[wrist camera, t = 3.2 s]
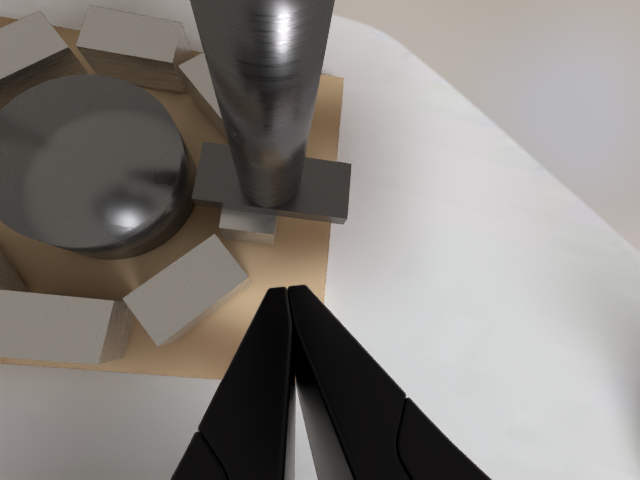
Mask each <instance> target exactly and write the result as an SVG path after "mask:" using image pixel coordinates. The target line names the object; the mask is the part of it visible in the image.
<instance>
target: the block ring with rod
mask: <svg viewBox="0 0 640 480" xmlns="http://www.w3.org/2000/svg"><path fill="white" fill-rule="evenodd" d="M334 1H335V0H190V2H191V6H192V9H193V13H194V17H195V20H196V24H197V28H198V32H199V35H200V39H201V43H202V47H203V50H204V52H203V53H201V54H199V55H197V56H196V57H194V58H193V56H192V53H191V49H190V46H189V43H188V40H187V37H186V34H185V30H184V27H183V24H182V23H180V22H175V21H170V20H164V19H159V18H154V17H148V16H143V15H137V14H132V13H127V12H121V11H116V10H111V9H105V8H100V7H95V6H89V8H88V11H87V14H86V17H85V20H84V23H83V26H82V29H81V32H80V35H79V38H78V41H77V44H76V47H77V48H78V50H79V51H80V53H81V54H82V55H83V57H84V58H85V59H86V61H87V62H88V63H89V65H90V66H91V67H92V69H93V70H94V72H95V73H96V74H97V75H103V76H110V77H114V78H119V79H122V80H125V81H127V82H130V83H132V84H134V85H139V86H145V87H151V88H157V89H163V90H170V91H176V92H182V93H185V89H186V88H187V91H188V93H189V96H190V97H191V98H192V99H193V101H194V102H195V103H196V104H197V106H198V107H199V108H200V109H201V110H202V112H203V113H204V114H205V115H206V117H207V118H208V119H209V120H210V121H211V123H212V124H213V125H214V126H215V128H216V129H217V130H218V131H219V132H220V134H221V135H222V136H223V137H224V139H225V140H226V141H227V142H228V143H229V146H228V145H222V144H215V143H208V142H203V145H202V150H201V155H200V160H199V165H198V170H197V174H196V179H195V184H194V189H193V194H192V200H193V201H194V202H195V204H196V205H197V206H205V207H212V208H220V209H222V212H221V217H220V223H219V229H220V231H221V232H222V234H223V235H224V237H225V239H227V240H235V241H244V242H252V243H260V244H269V245H274V243H275V235H276V227H277V220H278V216H282V217H289V218H297V219H305V220H313V221H320V222H328V223H336V224H344V223H345V221H346V220H347V214H348V201H349V188H350V175H351V164H348V163H342V162H335V161H328V160H322V159H315V158H308V157H305V156H306V151H307V146H308V140H309V135H310V130H311V124H312V119H313V114H314V108H315V103H316V98H317V92H318V87H319V81H320V76H321V71H322V65H323V60H324V55H325V49H326V44H327V39H328V33H329V28H330V23H331V17H332V11H333V7H334ZM81 74H89V73H88V72H87V71H86V69H85V68H84V67H83V65H82V64H81V63H80V61H79V60H78V59H77V57H76V56H75V55H74V54H73V52H72V51H71V50H70V48H69V47H68V46H67V44H66V43H65V42H64V41H63V39H62V38H61V37H60V36H59V34H58V33H57V32H56V30H55V29H54V28H53V27H52V25H51V24H50V23H49V21H48V20H47V19H46V18H45V16H44V15H43V14H42V13H41V11H39V12H37V13H34V14H32V15H30V16H27V17H25V18H23V19H20V20H18V21H16V22H13V23H11V24H9V25H6V26H4V27H2V28H0V110H1V109H2V108H3V107H4V106H5V105H6V104H8V103H9V102H10V101H11V100H12V99H14V98H15V97H17V96H18V95H19V94H21V93H23V92H24V91H26V90H28V89H30V88H31V87H34V86H36V85H38V84H41V83H43V82H46V81H49V80H52V79H55V78H60V77H65V76H70V75H81ZM251 283H252V281H251V280H250V278H249V277H248V275H247V274H246V273H245V272H244V270H243V269H242V268H241V267H240V265H239V264H238V263H237V261H236V260H235V259H234V258H233V256H232V255H231V254H230V253H229V251H228V250H227V249H226V247H225V246H224V245H223V244H222V242H221V241H220V240H219V238H218V237H217V236H216V235H215V234H214V235H212V236H211V237H209V238H208V239H206V240H205V241H204V242H202V243H201V244H199V245H198V246H196V247H195V248H194V249H192V250H191V251H189V252H188V253H186V254H185V255H184V256H182V257H181V258H179V259H178V260H177V261H175V262H174V263H172V264H171V265H169V266H168V267H167V268H165V269H164V270H162V271H161V272H159V273H158V274H157V275H155V276H154V277H152V278H151V279H149V280H148V281H147V282H145V283H144V284H142V285H141V286H139V287H138V288H137V289H135V290H134V291H132V292H131V293H129V294H128V295H127V296H125V297H124V298H122V299H123V300H124V301H125V302H122V301H112V300H102V299H91V298H81V297H71V296H60V295H50V294H40V293H29V292H26V291H28V289H27V287H26V286H25V284H24V283H23V281H22V280H21V278H20V277H19V276H18V274H17V273H16V271H15V270H14V268H13V267H12V266H11V264H10V263H9V261H8V260H7V258H6V257H5V255H4V254H3V253H2V251H1V250H0V357H4V358H17V359H30V360H43V361H56V362H69V363H82V364H95V365H99V364H103V363H107V362H111V361H114V360H118V359H122V358H124V357H125V352H126V348H127V344H128V339H129V335H130V330H131V326H132V322H133V317H134V315H135V316H136V318H137V319H138V320H139V322H140V323H141V325H142V326H143V327H144V329H145V330H146V331H147V333H148V334H149V336H150V337H151V338H152V340H153V341H154V342H155V344H156V345H157V347H158V346H162V345H166V344H170V343H174V342H176V341H177V340H178V339H180V338H181V337H182V336H183V335H185V334H186V333H187V332H189V331H190V330H191V329H192V328H194V327H195V326H196V325H198V324H199V323H200V322H202V321H203V320H204V319H205V318H207V317H208V316H209V315H211V314H212V313H213V312H214V311H216V310H217V309H218V308H220V307H221V306H222V305H224V304H225V303H226V302H227V301H229V300H230V299H231V298H233V297H234V296H235V295H237V294H238V293H239V292H240V291H242V290H243V289H244V288H246V287H247V286H248V285H249V284H251Z"/></svg>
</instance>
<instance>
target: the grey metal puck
mask: <svg viewBox="0 0 640 480" xmlns="http://www.w3.org/2000/svg"><path fill="white" fill-rule="evenodd" d="M196 174H197V168H196V165H195V162H194V160H193V158H192V156H191V154H190V152H189V150H188V148H187V146H186V144H185V142H184V140H183V138H182V136H181V134H180V132H179V130H178V129H177V127H176V125H175V123H174V121H173V119H172V117H171V115H170V114H169V113H168V111H167V110H166V108H165V107H164V106H163V105H162V104H161V103H160V102H159V101H158V100H157V99H156V98H155V97H154V96H152V95H151V94H150V93H148V92H147V91H145V90H144V89H142V88H141V87H139V86H137V85H134V84H132V83H130V82H127V81H125V80H122V79H119V78H114V77H110V76H103V75H94V74H81V75H70V76H65V77H60V78H55V79H52V80H49V81H46V82H43V83H41V84H38V85H36V86H34V87H31V88H30V89H28V90H26V91H24V92H23V93H21V94H19V95H18V96H17V97H15V98H14V99H12V100H11V101H10V102H9V103H8V104H6V105H5V106H4V107H3V108H2V109H1V110H0V221H1V222H3V223H4V224H5V225H6V226H8V227H9V228H11V229H12V230H14V231H15V232H17V233H19V234H21V235H23V236H26V237H28V238H30V239H33V240H36V241H39V242H43V243H46V244H49V245H52V246H55V247H58V248H61V249H64V250H67V251H70V252H73V253H76V254H80V255H83V256H86V257H89V258H95V259H101V260H119V259H127V258H132V257H136V256H139V255H142V254H145V253H148V252H150V251H152V250H154V249H156V248H158V247H159V246H161V245H163V244H164V243H166V242H167V241H168V240H170V239H171V238H172V237H173V236H174V235H175V234H176V233H177V232H178V231H179V230H180V229H181V228H182V227H183V225H184V224H185V223H186V222H187V220H188V218H189V217H190V215H191V213H192V211H193V208H194V206H195V202H194V201H193V200H192V194H193V189H194V184H195V179H196Z"/></svg>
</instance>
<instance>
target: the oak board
mask: <svg viewBox="0 0 640 480" xmlns="http://www.w3.org/2000/svg"><path fill="white" fill-rule="evenodd" d="M16 21H18V20H16V19H11V18H5V17H0V28H2V27H4V26H6V25H9V24H11V23H13V22H16ZM52 27H53V28H54V29H55V30H56V32H57V33H58V34H59V36H60V37H61V38H62V39H63V41H64V42H65V43H66V44H67V46H68V47H69V48H70V50H71V51H72V52H73V54H74V55H75V56H76V57H77V59H78V60H79V61H80V63H81V64H82V65H83V67H84V68H85V69H86V71H87V72H88V73H89V74H94V75H97V74H96V73H95V72H94V70H93V69H92V67H91V66H90V65H89V63H88V62H87V61H86V59H85V58H84V57H83V55H82V54H81V53H80V51H79V50H78V48H77V47H76V44H77V41H78V38H79V35H80V32H81V31H78V30H72V29H67V28H61V27H55V26H52ZM191 53H192V56H193V58H194V57H196V56H197V55H199V54H201V52H195V51H191ZM343 81H344V78H341V77H336V76H330V75H324V74H321V76H320V81H319V87H318V92H317V98H316V103H315V108H314V114H313V119H312V124H311V130H310V135H309V140H308V146H307V151H306V156H305V157H308V158H315V159H322V160H328V161H335V162H336V160H337V148H338V137H339V126H340V115H341V103H342V92H343ZM137 86H139V85H137ZM139 87H141V88H142V89H144V90H145V91H147V92H148V93H150V94H151V95H152V96H154V97H155V98H156V99H157V100H158V101H159V102H160V103H161V104H162V105H163V106H164V107H165V108H166V110H167V111H168V113H169V114H170V115H171V117H172V119H173V121H174V123H175V125H176V127H177V129H178V130H179V132H180V134H181V136H182V138H183V140H184V142H185V144H186V146H187V148H188V150H189V152H190V154H191V156H192V158H193V160H194V162H195V165H196V168H197V170H198V165H199V160H200V155H201V150H202V145H203V142H208V143H215V144H222V145H228V146H229V143H228V142H227V141H226V140H225V139H224V137H223V136H222V135H221V134H220V132H219V131H218V130H217V129H216V128H215V126H214V125H213V124H212V123H211V121H210V120H209V119H208V118H207V117H206V115H205V114H204V113H203V112H202V110H201V109H200V108H199V107H198V106H197V104H196V103H195V102H194V101H193V99H192V98H191V97H190V96H189V93H188V91H187V88H186V89H185V93H182V92H176V91H170V90H163V89H157V88H151V87H145V86H139ZM221 212H222V209H220V208H212V207H205V206H197V205H196V204H195V206H194V208H193V211H192V213H191V215H190V217H189V218H188V220H187V222H186V223H185V224H184V225H183V227H182V228H181V229H180V230H179V231H178V232H177V233H176V234H175V235H174V236H173V237H172V238H171V239H170V240H168V241H167V242H166V243H164V244H163V245H161V246H159V247H158V248H156V249H154V250H152V251H150V252H148V253H145V254H142V255H139V256H136V257H132V258H127V259H119V260H101V259H95V258H89V257H86V256H83V255H80V254H76V253H73V252H70V251H67V250H64V249H61V248H58V247H55V246H52V245H49V244H46V243H43V242H39V241H36V240H33V239H30V238H28V237H26V236H23V235H21V234H19V233H17V232H15V231H14V230H12V229H11V228H9V227H8V226H6V225H5V224H4V223H3V222H1V221H0V250H1V251H2V253H3V254H4V255H5V257H6V258H7V260H8V261H9V263H10V264H11V266H12V267H13V268H14V270H15V271H16V273H17V274H18V276H19V277H20V278H21V280H22V281H23V283H24V284H25V286H26V287H27V289H28V291H26V292H29V293H40V294H50V295H60V296H71V297H81V298H91V299H102V300H112V301H122V302H125V301H124V300H123V299H122V298H124V297H125V296H127V295H128V294H129V293H131V292H132V291H134V290H135V289H137V288H138V287H139V286H141V285H142V284H144V283H145V282H147V281H148V280H149V279H151V278H152V277H154V276H155V275H157V274H158V273H159V272H161V271H162V270H164V269H165V268H167V267H168V266H169V265H171V264H172V263H174V262H175V261H177V260H178V259H179V258H181V257H182V256H184V255H185V254H186V253H188V252H189V251H191V250H192V249H194V248H195V247H196V246H198V245H199V244H201V243H202V242H204V241H205V240H206V239H208V238H209V237H211V236H212V235H214V234H215V235H216V236H217V237H218V238H219V240H220V241H221V242H222V244H223V245H224V246H225V247H226V249H227V250H228V251H229V253H230V254H231V255H232V256H233V258H234V259H235V260H236V261H237V263H238V264H239V265H240V267H241V268H242V269H243V270H244V272H245V273H246V274H247V275H248V277H249V278H250V280H251V281H252V283H251V284H249V285H248V286H247V287H246V288H244V289H243V290H242V291H240V292H239V293H238V294H237V295H235V296H234V297H233V298H231V299H230V300H229V301H227V302H226V303H225V304H224V305H222V306H221V307H220V308H218V309H217V310H216V311H214V312H213V313H212V314H211V315H209V316H208V317H207V318H205V319H204V320H203V321H202V322H200V323H199V324H198V325H196V326H195V327H194V328H192V329H191V330H190V331H189V332H187V333H186V334H185V335H183V336H182V337H181V338H180V339H178V340H177V341H176V342H174V343H170V344H166V345H162V346H158V347H157V345H156V344H155V342H154V341H153V340H152V338H151V337H150V336H149V334H148V333H147V331H146V330H145V329H144V327H143V326H142V325H141V323H140V322H139V320H138V319H137V318H136V316H135V315H134V317H133V322H132V326H131V330H130V335H129V339H128V344H127V348H126V352H125V357H124V358H122V359H118V360H114V361H111V362H107V363H103V364H99V365H95V364H82V363H69V362H56V361H43V360H30V359H17V358H4V357H0V363H4V364H18V365H31V366H45V367H58V368H71V369H85V370H98V371H112V372H125V373H138V374H152V375H165V376H179V377H192V378H205V379H219V380H222V379H223V377H224V375H225V373H226V371H227V369H228V367H229V365H230V363H231V361H232V359H233V357H234V355H235V353H236V351H237V349H238V347H239V345H240V343H241V341H242V339H243V337H244V335H245V333H246V331H247V329H248V327H249V325H250V323H251V321H252V319H253V317H254V315H255V314H256V312H257V310H258V308H259V306H260V304H261V302H262V300H263V298H264V296H265V294H266V292H267V290H268V289H269V288H274V287H286V288H287V290H288V287H289V286H294V285H306V286H308V288H309V289H310V290H311V291H312V292H313V293H314V294H315V295H316V296H317V297H318V298H319V300H320V301H321V302H322V303H323V304H324V295H325V284H326V272H327V261H328V250H329V239H330V227H331V223H328V222H320V221H313V220H305V219H297V218H289V217H282V216H278V220H277V227H276V235H275V243H274V245H269V244H260V243H252V242H244V241H235V240H227V239H225V237H224V235H223V234H222V232H221V231H220V229H219V223H220V217H221ZM295 385H296V379H295Z"/></svg>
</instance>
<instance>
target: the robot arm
mask: <svg viewBox="0 0 640 480" xmlns="http://www.w3.org/2000/svg"><path fill="white" fill-rule="evenodd" d="M295 379H296V386H297V391H298V396H299V401H300V405H301V409H302V414H303V418H304V422H305V427H306V431H307V435H308V439H309V444H310V448H311V452H312V457H313V461H314V465H315V469H316V474H317V478H318V480H492V479H490V478H489V477H488V476H487V475H486V474H485V473H484V472H483V471H482V470H481V469H480V468H479V467H477V466H476V465H475V464H474V463H473V462H472V461H471V460H470V459H469V458H468V457H467V456H466V455H465V454H464V453H463V452H462V451H460V450H459V449H458V448H457V447H456V446H455V445H454V444H453V443H452V442H451V441H450V440H449V439H448V438H447V437H446V436H445V435H444V434H443V433H442V432H441V431H440V430H439V429H438V428H437V427H436V425H435V424H434V423H433V422H432V421H431V420H430V419H429V418H428V417H427V416H426V415H425V414H424V413H423V412H422V411H421V410H420V409H419V407H418V406H417V405H416V404H415V403H414V402H413V401H412V400H411V399H410V398H409V397H408V398H406V394H405V392H404V391H403V390H402V389H401V388H400V387H399V386H398V385H397V384H396V382H395V381H394V380H393V379H392V378H391V377H390V376H389V375H388V374H387V373H386V372H385V370H384V369H383V368H382V367H381V366H380V365H379V364H378V363H377V362H376V361H375V360H374V358H373V357H372V356H371V355H370V354H369V353H368V352H367V351H366V350H365V349H364V348H363V346H362V345H361V344H360V343H359V342H358V341H357V340H356V339H355V338H354V337H353V336H352V334H351V333H350V332H349V331H348V330H347V329H346V328H345V327H344V326H343V325H342V324H341V322H340V321H339V320H338V319H337V318H336V317H335V316H334V315H333V314H332V313H331V312H330V310H329V309H328V308H327V307H326V306H325V305H324V304H323V303H322V302H321V301H320V300H319V298H318V297H317V296H316V295H315V294H314V293H313V292H312V291H311V290H310V289H309V288H308V286H306V285H294V286H289V287H288V290H287V288H286V287H274V288H269V289H268V290H267V292H266V294H265V296H264V298H263V300H262V302H261V304H260V306H259V308H258V310H257V312H256V314H255V315H254V317H253V319H252V321H251V323H250V325H249V327H248V329H247V331H246V333H245V335H244V337H243V339H242V341H241V343H240V345H239V347H238V349H237V351H236V353H235V355H234V357H233V359H232V361H231V363H230V365H229V367H228V369H227V371H226V373H225V375H224V377H223V379H222V381H221V383H220V385H219V387H218V389H217V391H216V393H215V395H214V397H213V399H212V401H211V403H210V405H209V406H208V408H207V410H206V412H205V414H204V416H203V418H202V420H201V422H200V424H199V426H198V431H199V432H196V433H195V434H194V436H193V438H192V440H191V442H190V444H189V446H188V448H187V450H186V452H185V453H184V455H183V457H182V459H181V461H180V463H179V465H178V467H177V469H176V470H175V472H174V474H173V476H172V478H171V480H294V477H295V411H296V386H295Z"/></svg>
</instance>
